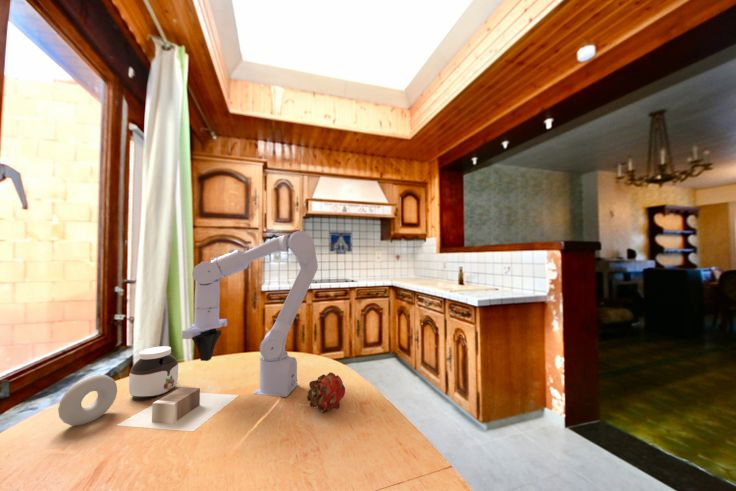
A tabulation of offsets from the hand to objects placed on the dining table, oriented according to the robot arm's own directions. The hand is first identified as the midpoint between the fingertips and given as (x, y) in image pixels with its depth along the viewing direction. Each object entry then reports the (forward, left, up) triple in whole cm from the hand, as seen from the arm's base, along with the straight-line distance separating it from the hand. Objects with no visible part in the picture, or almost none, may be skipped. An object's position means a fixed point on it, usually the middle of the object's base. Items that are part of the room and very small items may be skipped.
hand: (205, 359), depth 75 cm
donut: (+17, +14, -10) cm, 24 cm away
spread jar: (+16, -1, -10) cm, 19 cm away
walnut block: (0, +5, -7) cm, 9 cm away
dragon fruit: (-33, +1, -10) cm, 34 cm away
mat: (0, +7, -9) cm, 12 cm away
